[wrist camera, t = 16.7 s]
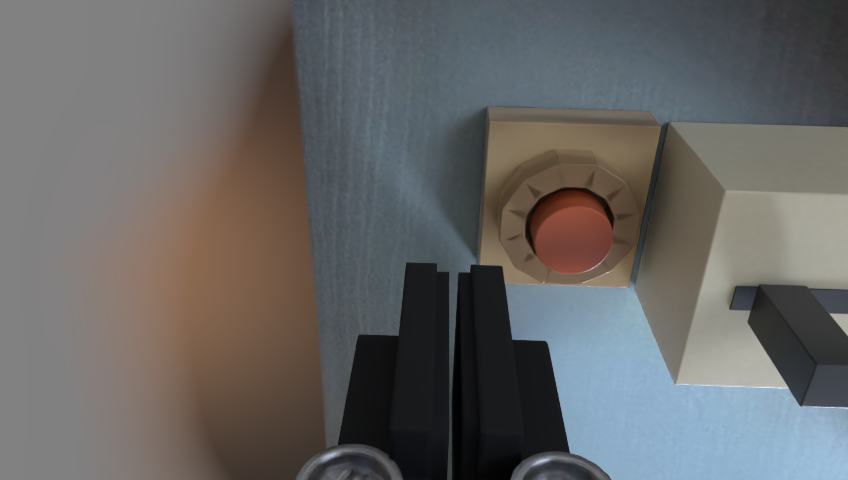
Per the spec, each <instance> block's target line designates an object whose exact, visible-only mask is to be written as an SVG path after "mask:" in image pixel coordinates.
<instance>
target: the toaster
mask: <svg viewBox="0 0 848 480" xmlns="http://www.w3.org/2000/svg"><path fill="white" fill-rule="evenodd" d="M759 284H770V285H800V286H807V287H808V288H809V289H810V291H811V292H812V293H813V294H814V295H815V297H816V298H817V299H818V300H819V302H820V303H821V304H822V305H823V306H824V308H825V309H826V310H827V311H828V312H829V314H830V315H831V316H832V317H833V319H834V320H835V321H836V322H837V323H838V325H839V326H840V327H841V328H842V330H843V331H844V332H845V333H846V334H847V336H848V127H826V126H793V125H760V124H726V123H693V122H669V124H668V129H667V134H666V138H665V143H664V148H663V153H662V158H661V163H660V168H659V173H658V177H657V182H656V187H655V192H654V197H653V202H652V207H651V212H650V216H649V221H648V226H647V231H646V236H645V241H644V246H643V251H642V255H641V260H640V265H639V270H638V275H637V280H636V285H635V292H636V294H637V297H638V299H639V301H640V304H641V306H642V308H643V311H644V313H645V316H646V318H647V320H648V323H649V325H650V327H651V330H652V332H653V334H654V337H655V339H656V342H657V344H658V346H659V349H660V351H661V353H662V356H663V358H664V360H665V363H666V365H667V368H668V370H669V372H670V375H671V377H672V379H673V382H674V384H676V385H702V386H730V387H758V388H785V389H789V388H788V386H787V385H786V383H785V381H784V380H783V378H782V377H781V375H780V374H779V372H778V370H777V369H776V367H775V366H774V364H773V362H772V361H771V359H770V358H769V356H768V355H767V353H766V351H765V350H764V348H763V347H762V345H761V344H760V342H759V340H758V339H757V337H756V336H755V334H754V332H753V331H752V329H751V328H750V326H749V325H748V323H747V321H748V318H749V315H750V311H751V308H752V305H753V302H754V299H755V295H756V292H757V289H758V286H759Z"/></svg>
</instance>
